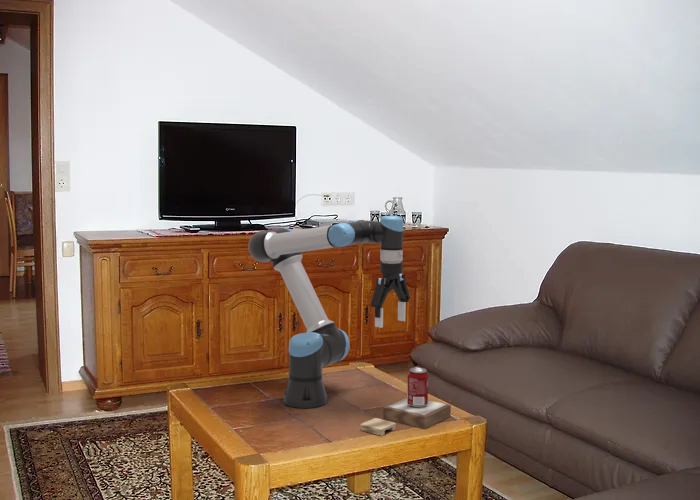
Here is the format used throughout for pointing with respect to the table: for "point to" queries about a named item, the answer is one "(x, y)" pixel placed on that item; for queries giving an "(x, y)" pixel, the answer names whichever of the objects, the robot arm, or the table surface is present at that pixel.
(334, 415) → the table surface
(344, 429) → the table surface
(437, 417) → the dock
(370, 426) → the plate
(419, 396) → the soda can
